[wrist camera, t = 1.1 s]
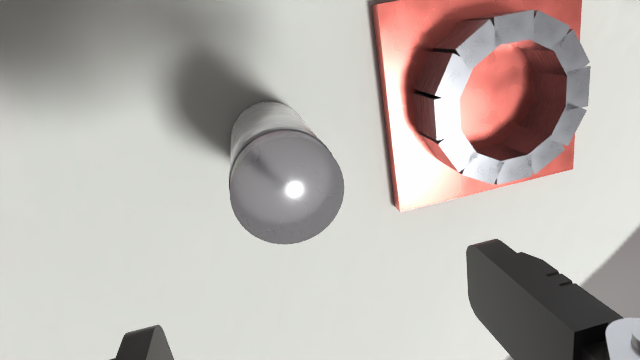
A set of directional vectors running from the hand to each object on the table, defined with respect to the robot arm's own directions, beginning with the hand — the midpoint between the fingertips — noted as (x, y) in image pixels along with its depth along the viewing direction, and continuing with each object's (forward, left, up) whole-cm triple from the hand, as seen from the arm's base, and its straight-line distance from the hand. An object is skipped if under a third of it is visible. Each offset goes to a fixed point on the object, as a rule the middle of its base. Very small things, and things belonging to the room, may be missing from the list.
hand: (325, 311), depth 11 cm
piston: (0, 0, -18) cm, 18 cm away
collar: (0, +15, -18) cm, 24 cm away
